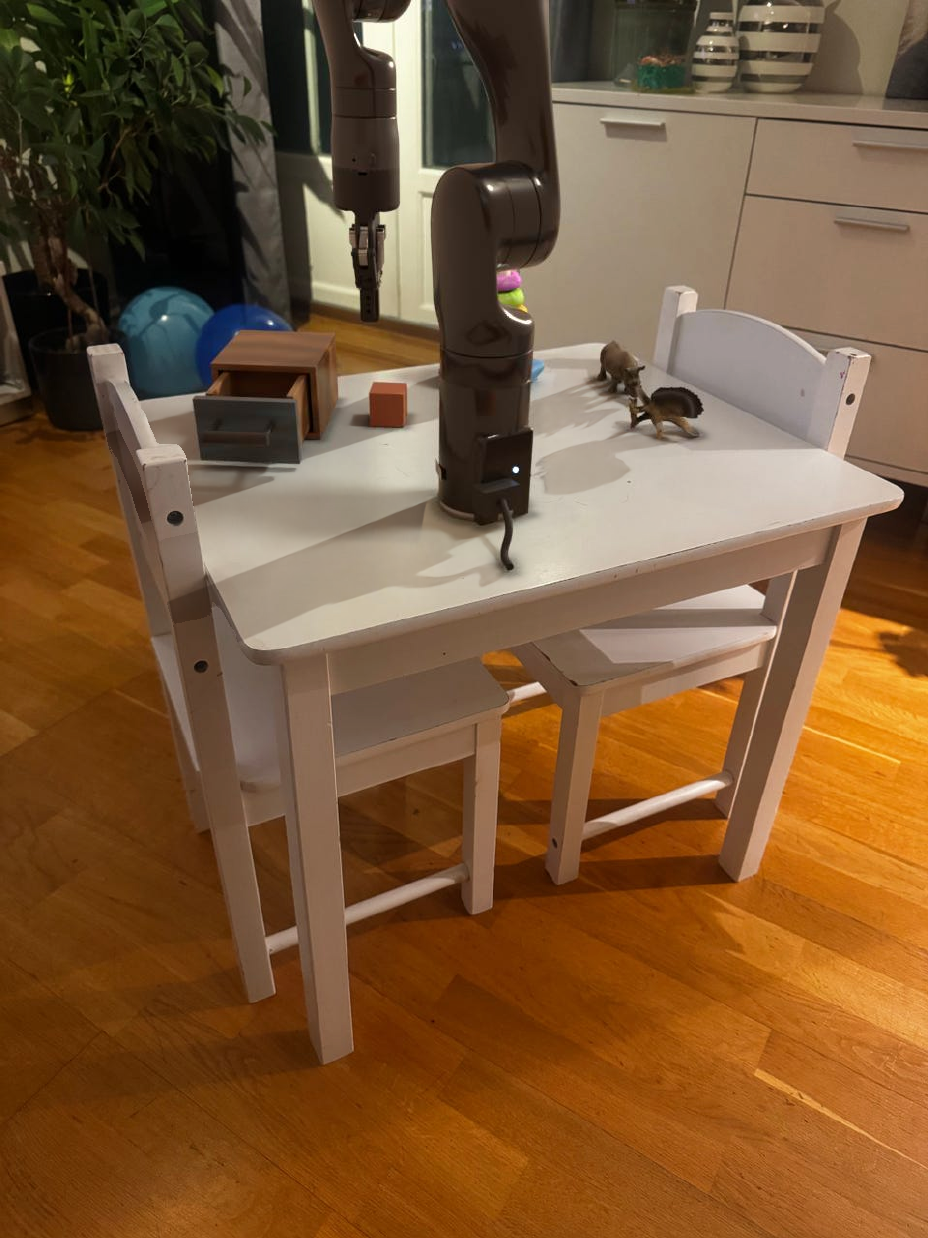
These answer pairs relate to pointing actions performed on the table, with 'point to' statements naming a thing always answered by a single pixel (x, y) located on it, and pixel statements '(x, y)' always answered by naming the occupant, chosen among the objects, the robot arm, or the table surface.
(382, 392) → the block
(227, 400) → the drawer
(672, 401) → the brown plastic figure
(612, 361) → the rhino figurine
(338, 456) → the table surface
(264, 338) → the cabinet
